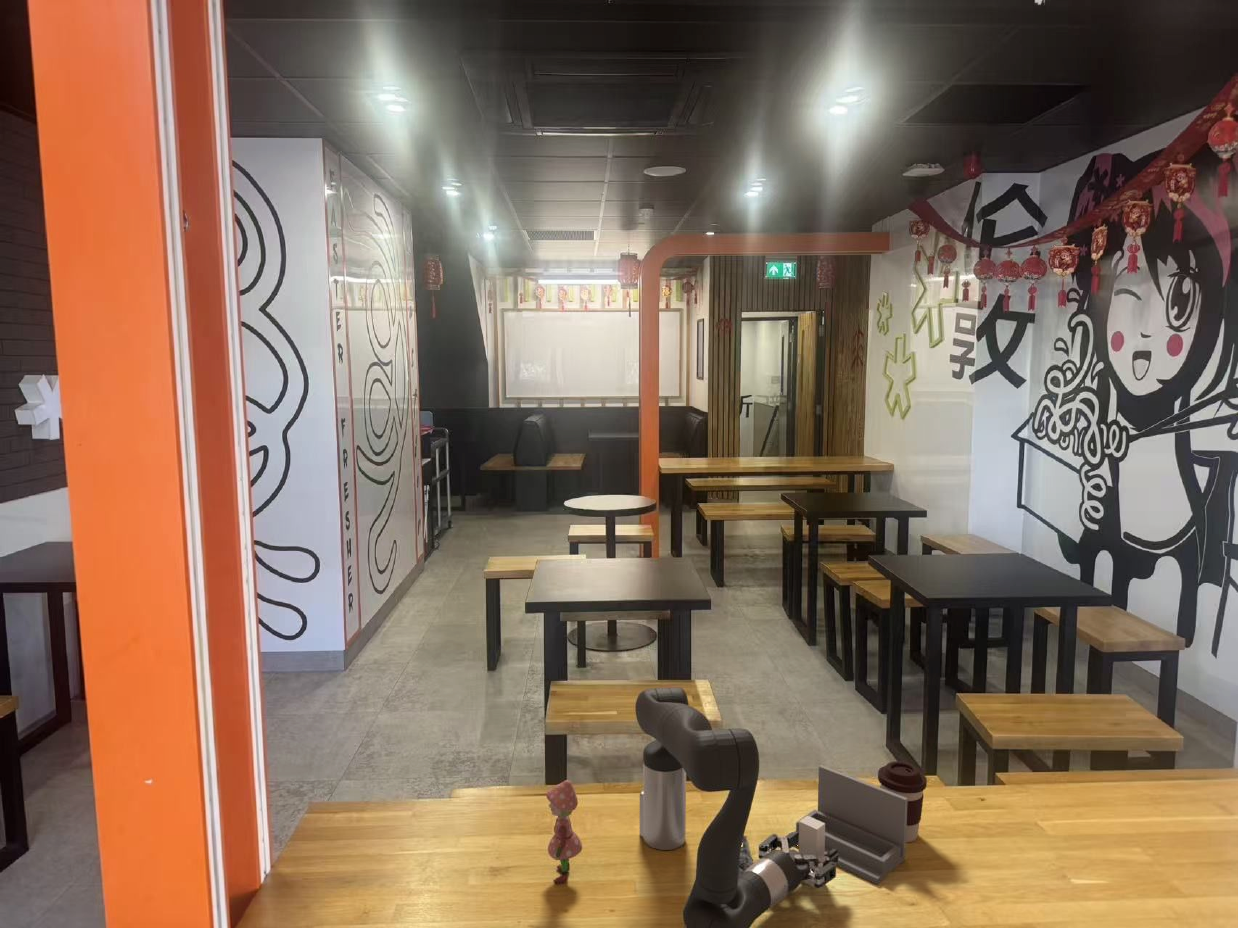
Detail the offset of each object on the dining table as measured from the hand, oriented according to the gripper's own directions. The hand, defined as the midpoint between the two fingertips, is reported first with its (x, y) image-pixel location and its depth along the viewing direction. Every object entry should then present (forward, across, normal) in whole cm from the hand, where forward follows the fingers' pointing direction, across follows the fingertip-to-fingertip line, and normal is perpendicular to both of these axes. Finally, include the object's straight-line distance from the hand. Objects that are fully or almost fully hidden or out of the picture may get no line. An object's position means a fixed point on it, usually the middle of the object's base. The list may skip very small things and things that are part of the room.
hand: (816, 844), depth 155 cm
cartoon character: (-36, +35, +7) cm, 51 cm away
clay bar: (-2, 0, +7) cm, 7 cm away
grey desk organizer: (+12, 0, +7) cm, 14 cm away
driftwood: (-5, +15, +7) cm, 18 cm away
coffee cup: (+26, -5, +7) cm, 27 cm away
